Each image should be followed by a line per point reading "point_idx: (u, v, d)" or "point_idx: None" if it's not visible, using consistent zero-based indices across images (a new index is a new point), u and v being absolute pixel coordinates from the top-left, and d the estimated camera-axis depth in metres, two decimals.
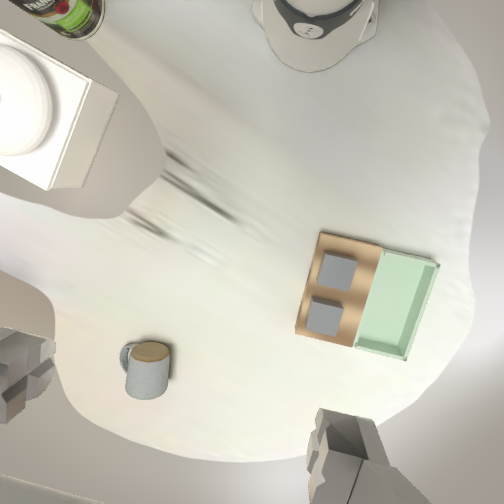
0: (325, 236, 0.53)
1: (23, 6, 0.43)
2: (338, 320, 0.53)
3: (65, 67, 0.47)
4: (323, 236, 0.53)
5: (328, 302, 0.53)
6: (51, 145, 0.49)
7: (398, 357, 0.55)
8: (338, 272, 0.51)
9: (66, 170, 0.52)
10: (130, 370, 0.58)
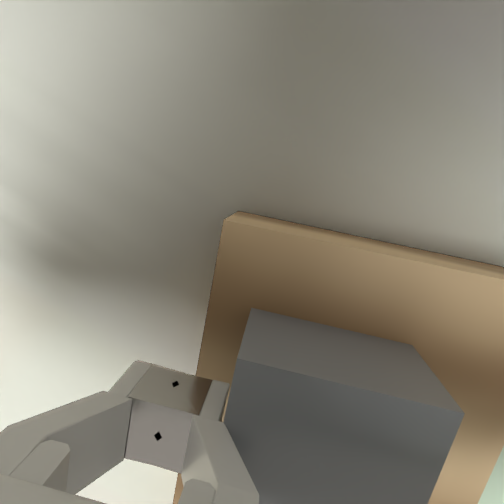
0: (244, 231, 0.10)
1: None
2: None
3: None
4: (234, 231, 0.10)
5: None
6: None
7: None
8: (326, 472, 0.08)
9: None
10: None
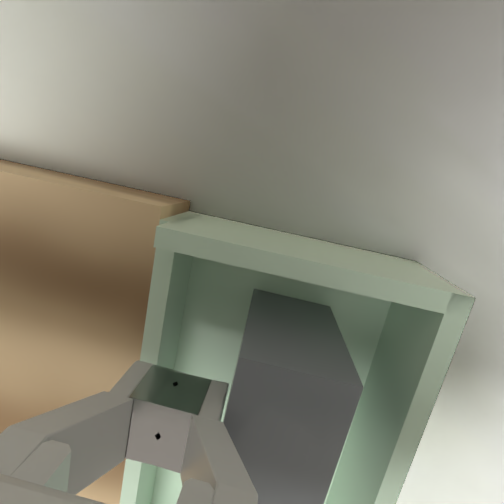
0: None
1: None
2: None
3: None
4: None
5: None
6: None
7: None
8: None
9: None
10: None
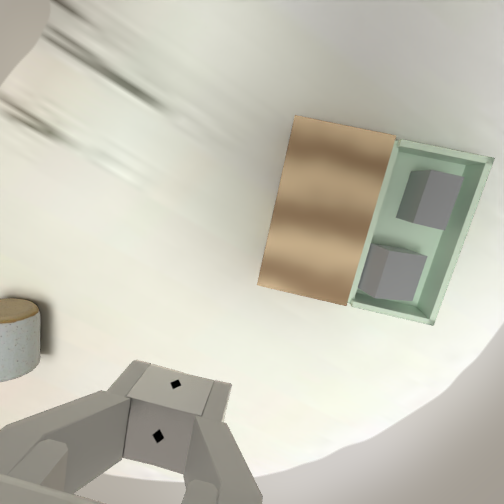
0: (301, 118, 0.32)
1: None
2: (418, 275, 0.34)
3: None
4: (298, 118, 0.32)
5: (401, 250, 0.34)
6: None
7: (420, 320, 0.34)
8: None
9: None
10: None
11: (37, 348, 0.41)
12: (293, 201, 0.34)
